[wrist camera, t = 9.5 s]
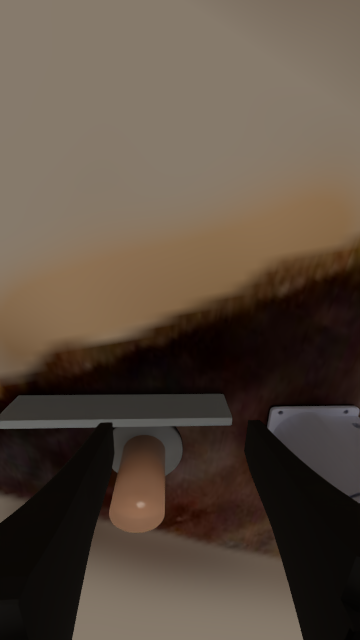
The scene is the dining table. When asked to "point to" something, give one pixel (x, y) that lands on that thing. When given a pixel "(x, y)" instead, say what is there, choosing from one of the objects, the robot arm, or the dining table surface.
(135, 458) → the terracotta cylinder
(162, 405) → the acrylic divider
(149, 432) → the slate coaster
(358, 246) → the dining table surface
